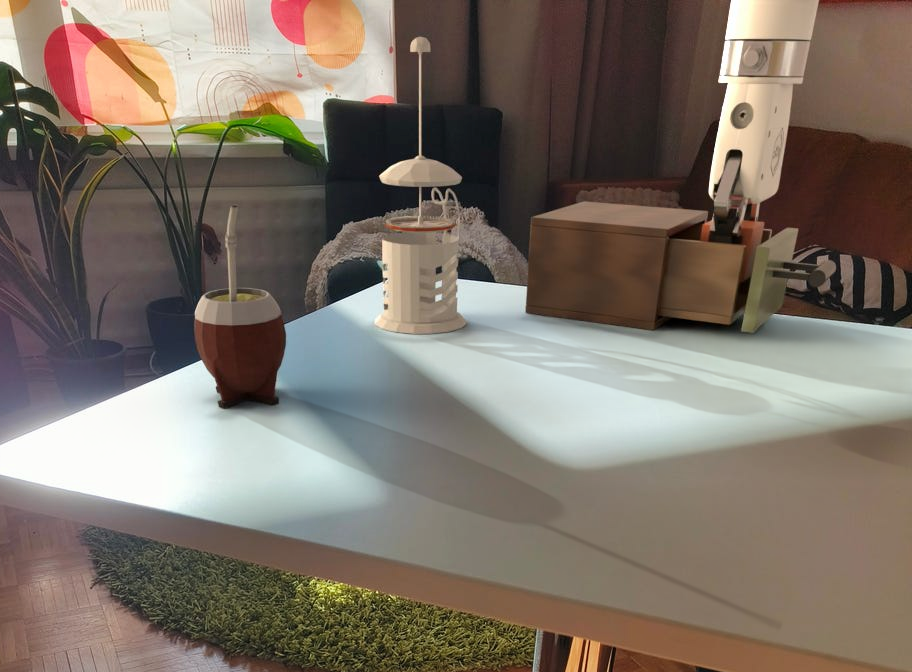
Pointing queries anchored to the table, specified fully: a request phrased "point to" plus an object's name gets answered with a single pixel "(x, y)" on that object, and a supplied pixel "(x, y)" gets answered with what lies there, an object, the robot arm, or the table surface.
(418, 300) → the french press
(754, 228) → the block
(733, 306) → the drawer
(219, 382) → the mate gourd
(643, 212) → the cabinet
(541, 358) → the table surface
